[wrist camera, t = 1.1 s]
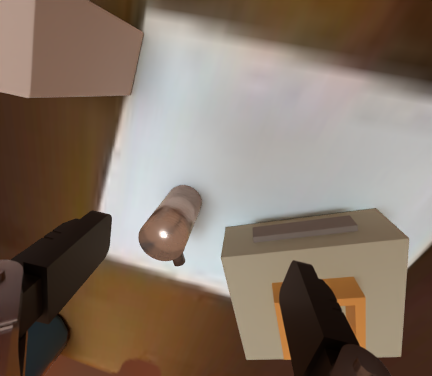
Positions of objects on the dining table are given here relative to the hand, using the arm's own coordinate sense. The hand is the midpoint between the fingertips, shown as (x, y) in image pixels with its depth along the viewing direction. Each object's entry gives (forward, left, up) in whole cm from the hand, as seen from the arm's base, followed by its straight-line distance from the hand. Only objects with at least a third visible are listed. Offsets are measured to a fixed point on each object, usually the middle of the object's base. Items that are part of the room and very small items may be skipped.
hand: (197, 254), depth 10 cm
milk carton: (+12, -14, -22) cm, 29 cm away
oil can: (+8, +7, -22) cm, 24 cm away
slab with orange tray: (-7, +20, -22) cm, 31 cm away
